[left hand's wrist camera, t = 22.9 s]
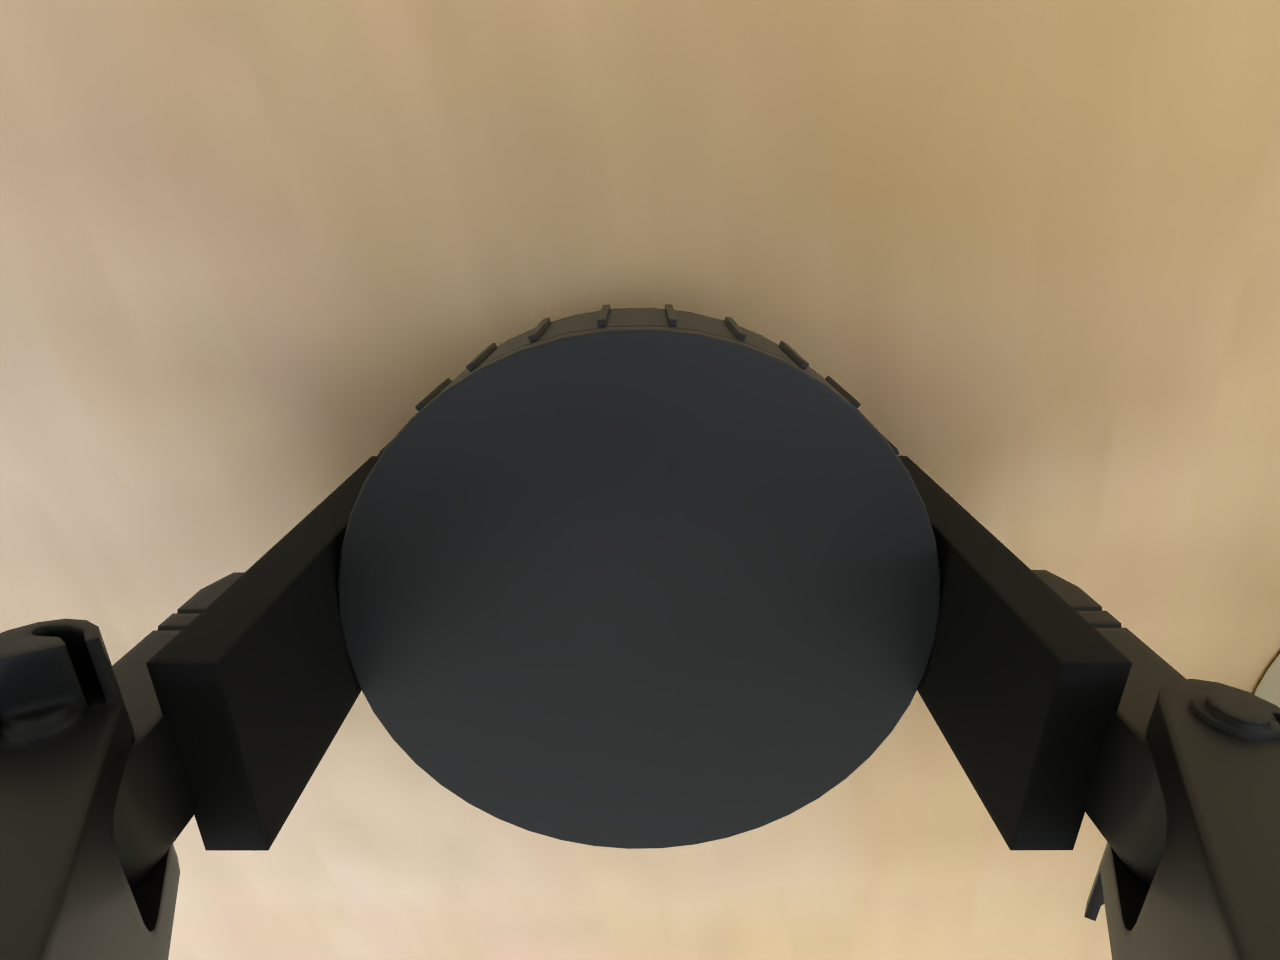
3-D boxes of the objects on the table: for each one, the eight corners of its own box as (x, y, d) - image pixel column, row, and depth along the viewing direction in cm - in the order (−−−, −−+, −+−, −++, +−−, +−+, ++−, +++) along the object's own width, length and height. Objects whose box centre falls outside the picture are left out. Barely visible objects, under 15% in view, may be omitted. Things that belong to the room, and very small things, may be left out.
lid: (914, 718, 13) (961, 806, 11) (471, 793, 14) (445, 887, 12) (872, 243, 10) (927, 251, 8) (300, 372, 11) (226, 408, 9)
